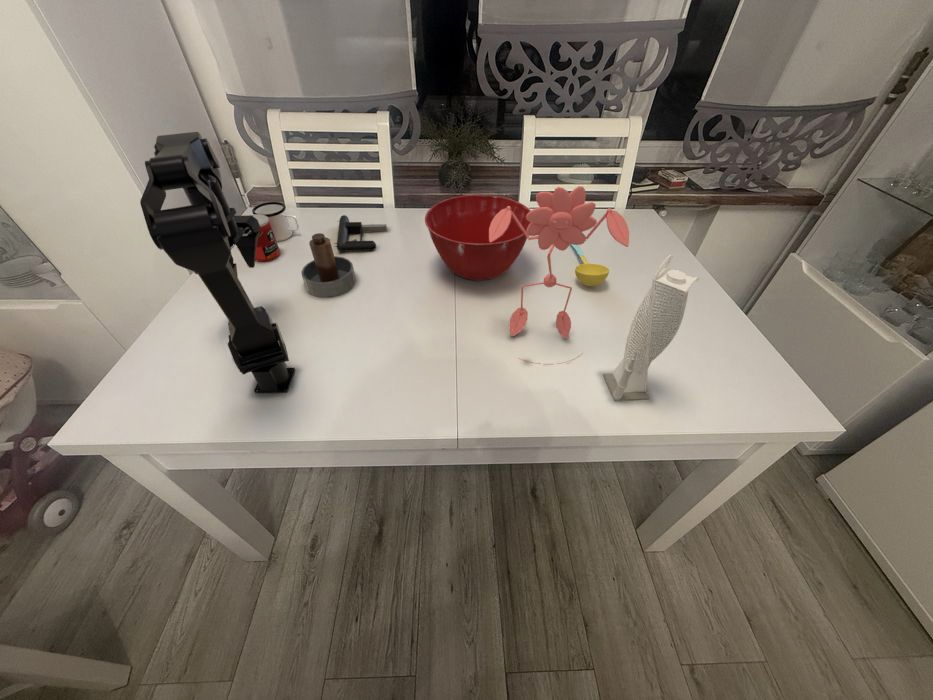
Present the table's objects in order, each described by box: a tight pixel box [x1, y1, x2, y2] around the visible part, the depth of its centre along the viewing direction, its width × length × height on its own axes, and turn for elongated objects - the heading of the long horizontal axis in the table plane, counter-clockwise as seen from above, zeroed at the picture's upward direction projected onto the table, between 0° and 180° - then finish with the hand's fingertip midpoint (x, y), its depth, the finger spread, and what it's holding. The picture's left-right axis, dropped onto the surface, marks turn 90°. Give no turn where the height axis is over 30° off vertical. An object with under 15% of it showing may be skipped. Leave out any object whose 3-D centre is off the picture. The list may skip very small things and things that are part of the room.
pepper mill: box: [308, 232, 340, 282], centre depth 100 cm, size 5×5×14 cm
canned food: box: [251, 214, 281, 263], centre depth 111 cm, size 8×8×11 cm
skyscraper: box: [602, 253, 700, 402], centre depth 70 cm, size 8×8×28 cm
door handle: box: [332, 214, 388, 253], centre depth 123 cm, size 3×20×16 cm
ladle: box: [570, 244, 611, 287], centre depth 111 cm, size 9×26×6 cm, turn 1°
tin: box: [301, 255, 357, 299], centre depth 103 cm, size 13×13×4 cm
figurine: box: [489, 185, 630, 366], centre depth 77 cm, size 15×26×35 cm, turn 83°
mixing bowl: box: [424, 194, 531, 281], centre depth 106 cm, size 28×28×15 cm
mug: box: [251, 201, 300, 243], centre depth 120 cm, size 12×9×9 cm
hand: (244, 278), depth 83 cm, fingers open, 9 cm apart
